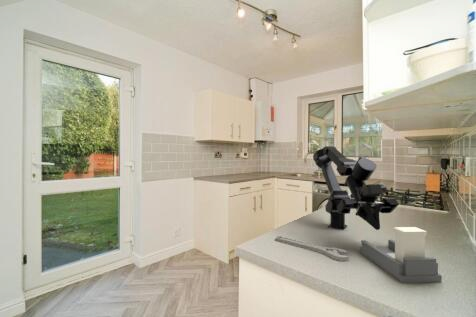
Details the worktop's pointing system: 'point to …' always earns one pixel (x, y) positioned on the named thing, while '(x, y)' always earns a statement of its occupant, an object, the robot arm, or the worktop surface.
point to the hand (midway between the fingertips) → (378, 229)
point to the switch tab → (409, 243)
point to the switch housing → (405, 272)
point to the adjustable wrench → (318, 248)
